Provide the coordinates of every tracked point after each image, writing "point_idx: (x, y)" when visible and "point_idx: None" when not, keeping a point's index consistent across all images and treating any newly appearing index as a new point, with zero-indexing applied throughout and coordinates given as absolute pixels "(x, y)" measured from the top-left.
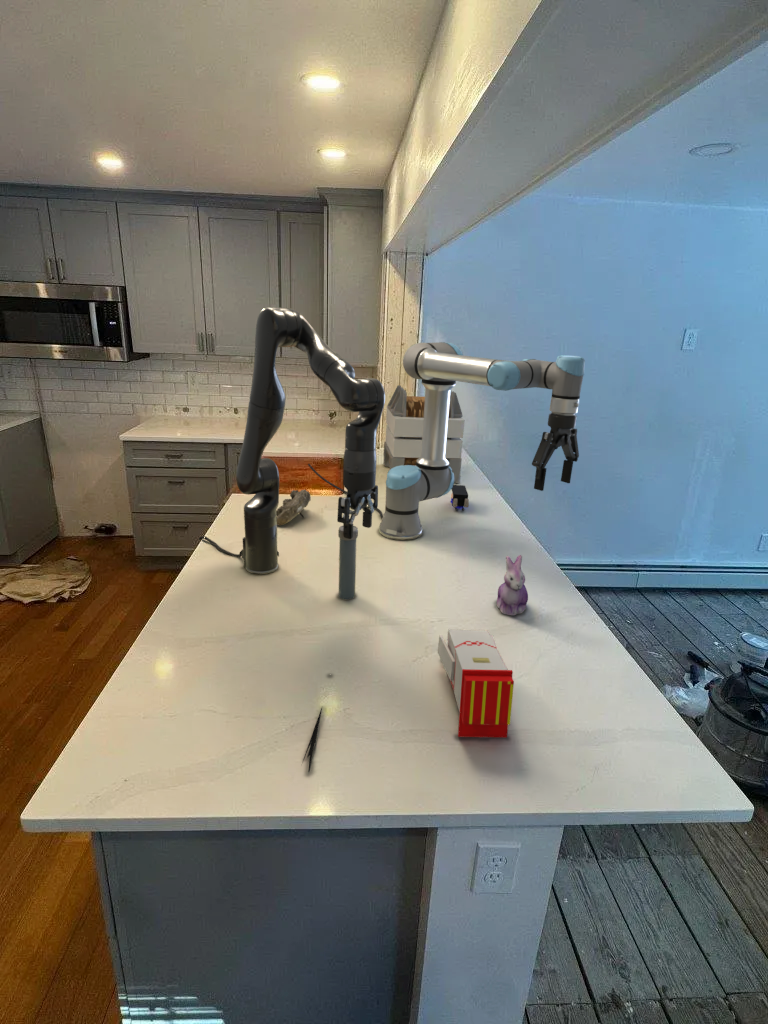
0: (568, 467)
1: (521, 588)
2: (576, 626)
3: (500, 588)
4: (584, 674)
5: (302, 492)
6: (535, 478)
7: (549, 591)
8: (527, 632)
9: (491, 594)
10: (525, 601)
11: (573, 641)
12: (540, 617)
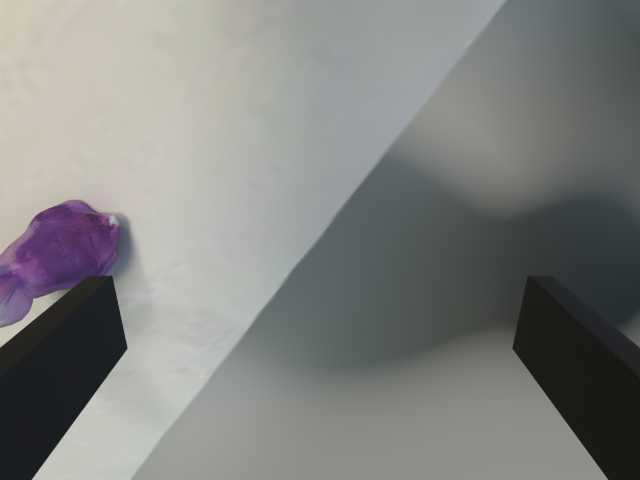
0: (618, 449)
1: (41, 295)
2: (160, 365)
3: (26, 230)
4: None
5: None
6: (19, 335)
7: (242, 247)
8: None
9: (81, 164)
10: None
11: (108, 388)
12: None
